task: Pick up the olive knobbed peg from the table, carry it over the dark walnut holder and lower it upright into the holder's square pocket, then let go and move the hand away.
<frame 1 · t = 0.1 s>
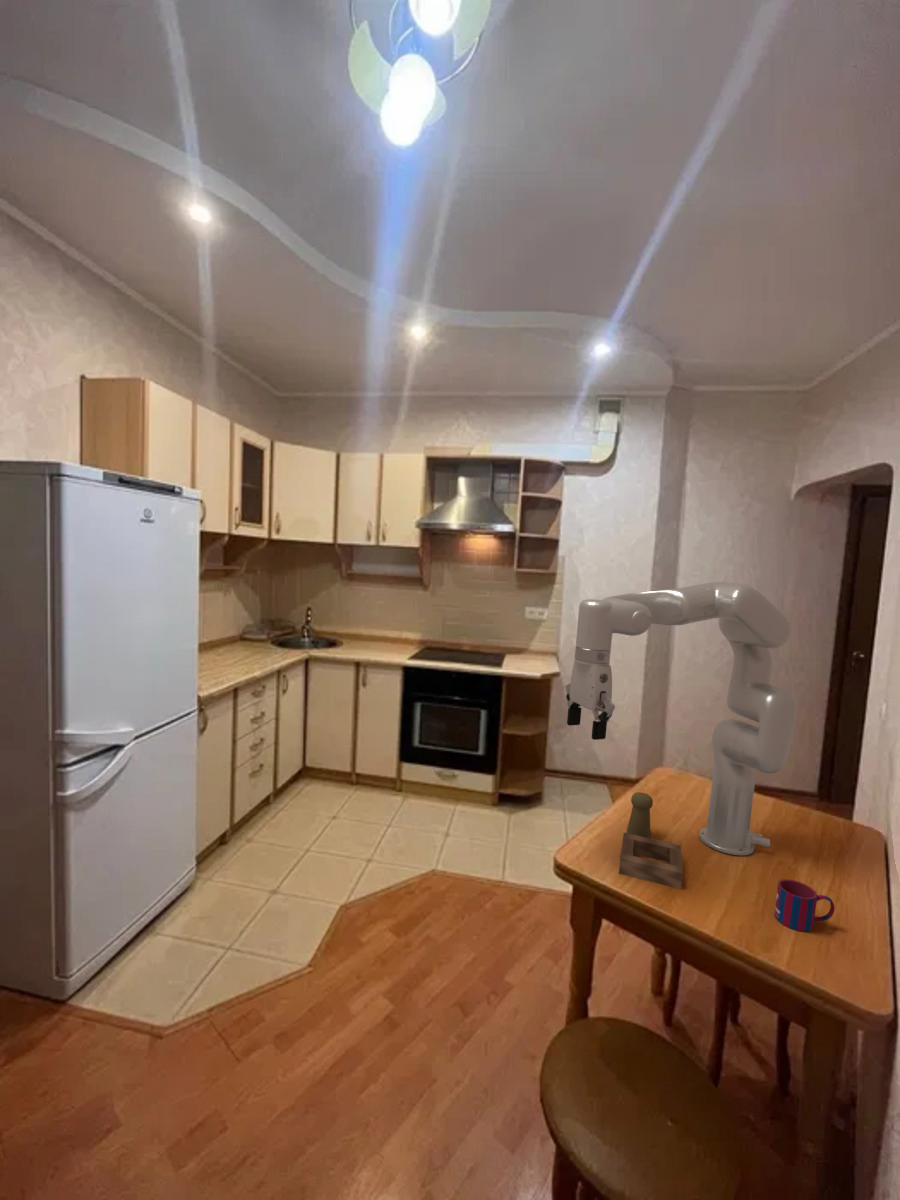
hand: (585, 731, 125), 31 cm above the table, tool pointing down, fingers open, 9 cm apart
mug: (802, 924, 113), on the table
walnut holder: (649, 866, 130), on the table
olive knobbed peg: (638, 836, 144), on the table
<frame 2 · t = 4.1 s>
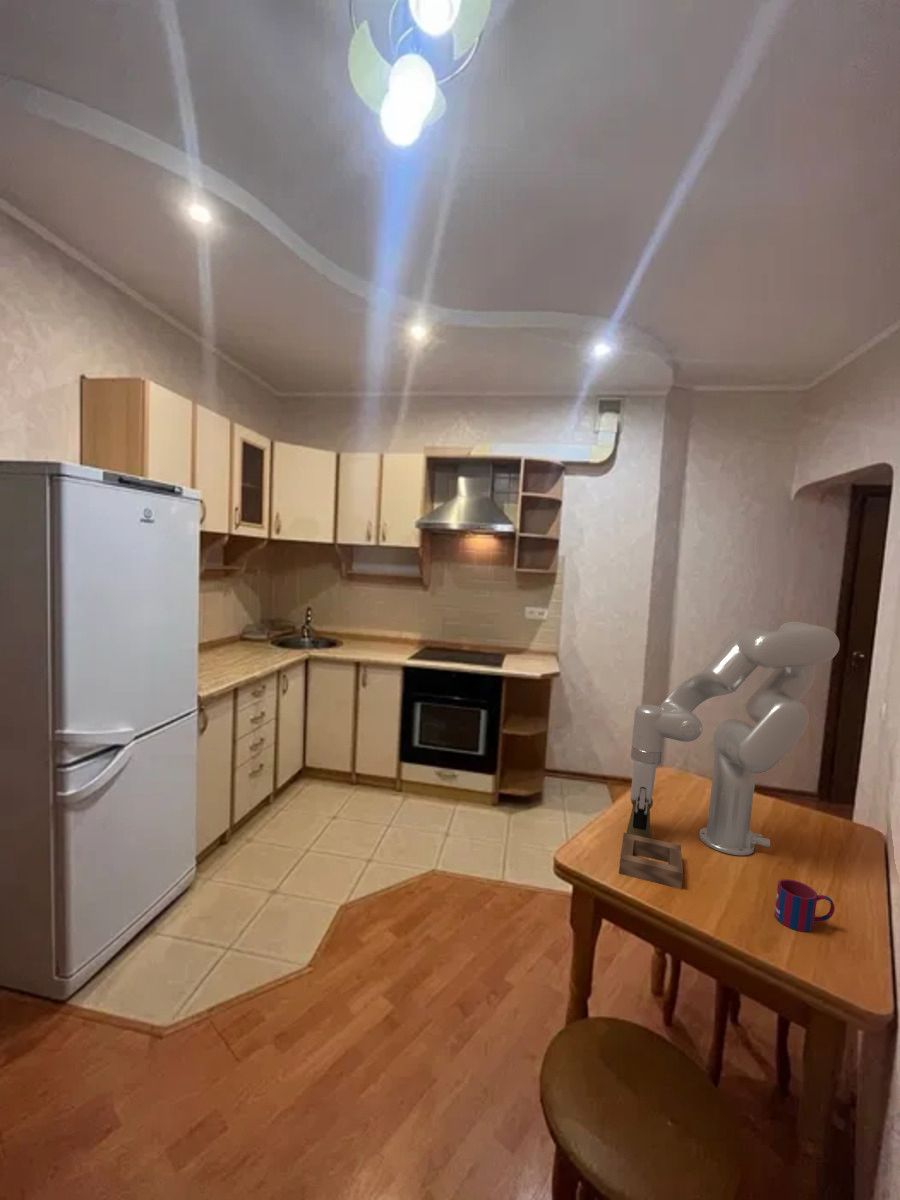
hand: (639, 823, 144), 3 cm above the table, tool pointing down, fingers closed on olive knobbed peg, 4 cm apart
olive knobbed peg: (638, 836, 144), on the table, touching gripper
everything else where it was.
when the fingers open (5 cm above the table, at t = 11.2 s): olive knobbed peg drops 1 cm, resting in walnut holder.
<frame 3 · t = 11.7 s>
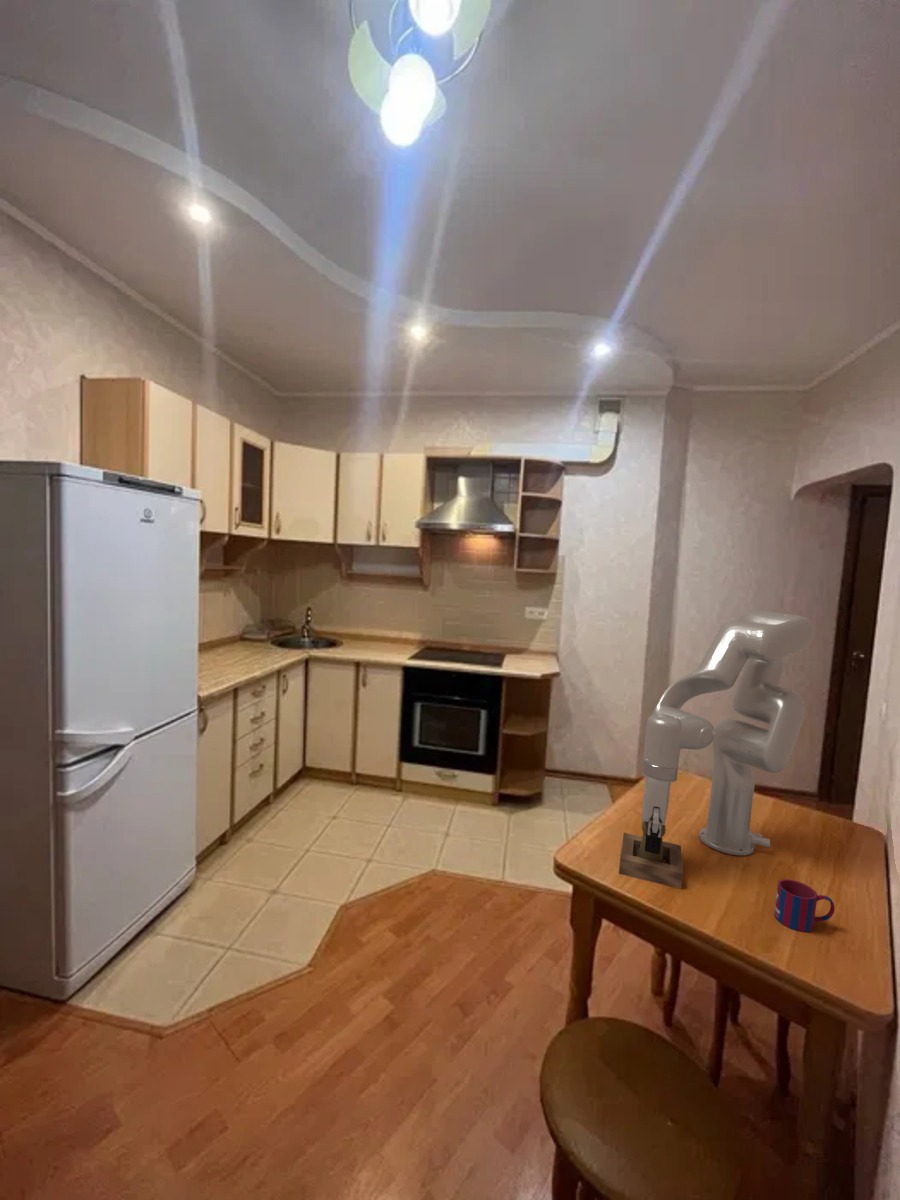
hand: (652, 842, 129), 6 cm above the table, tool pointing down, fingers open, 9 cm apart
olive knobbed peg: (649, 866, 130), resting in walnut holder
everything else where it was.
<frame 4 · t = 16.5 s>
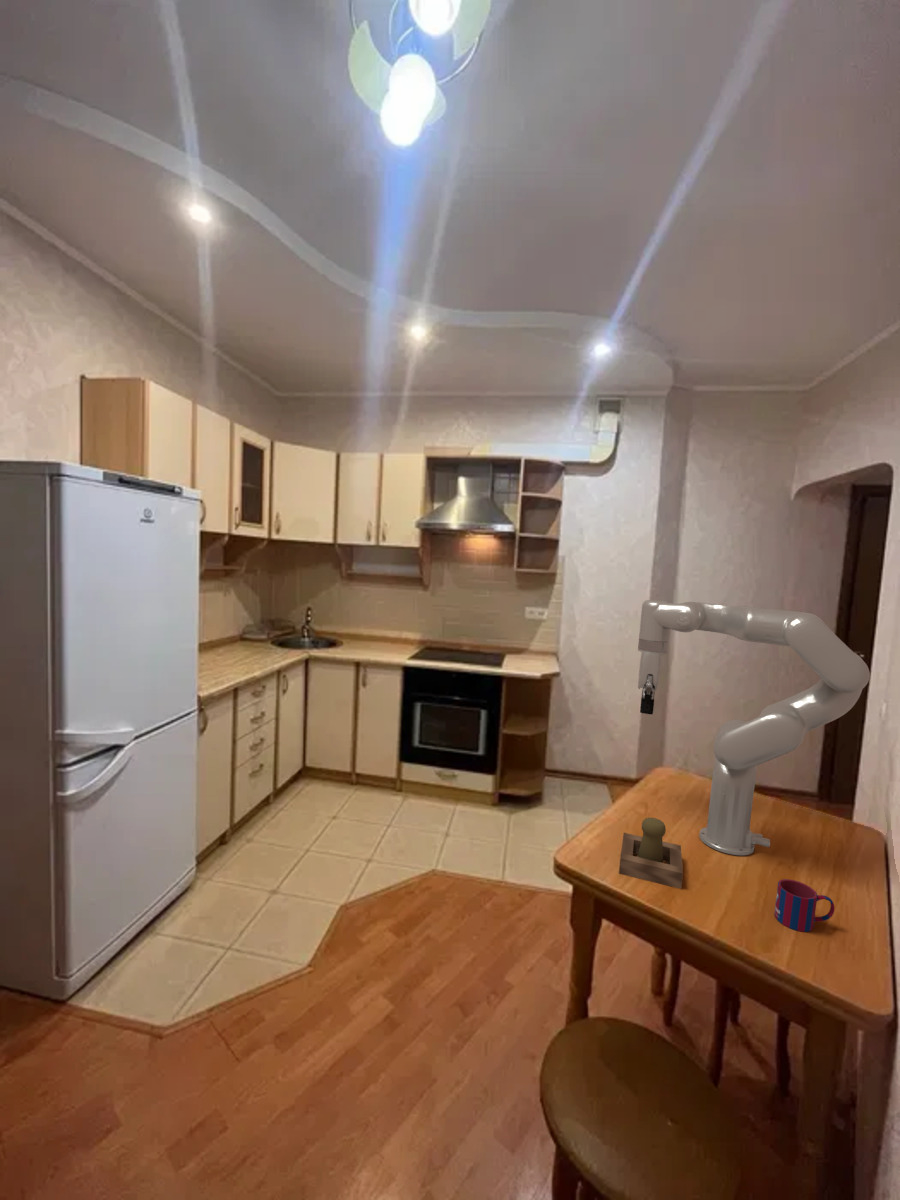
hand: (646, 709, 152), 30 cm above the table, tool pointing down, fingers open, 9 cm apart
nothing on the table moved.
at the end: olive knobbed peg 0.1 cm off-centre on the walnut holder, point 0.0 cm above the walnut holder's base; olive knobbed peg tilted 0°; the gripper is holding nothing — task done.
